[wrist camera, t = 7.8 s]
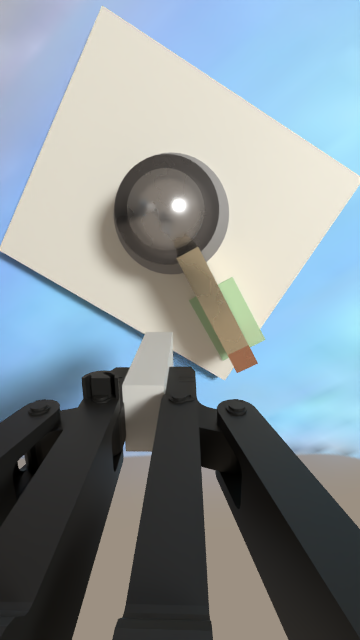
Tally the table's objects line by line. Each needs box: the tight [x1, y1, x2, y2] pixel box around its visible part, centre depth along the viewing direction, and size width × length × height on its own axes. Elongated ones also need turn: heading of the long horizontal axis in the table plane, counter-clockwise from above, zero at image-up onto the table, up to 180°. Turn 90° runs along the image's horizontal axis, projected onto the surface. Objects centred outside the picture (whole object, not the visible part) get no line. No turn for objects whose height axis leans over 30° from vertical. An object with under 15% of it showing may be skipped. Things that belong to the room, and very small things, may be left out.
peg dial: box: [115, 154, 258, 373], centre depth 22 cm, size 16×7×4 cm, turn 28°
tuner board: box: [0, 6, 360, 380], centre depth 25 cm, size 23×19×1 cm
